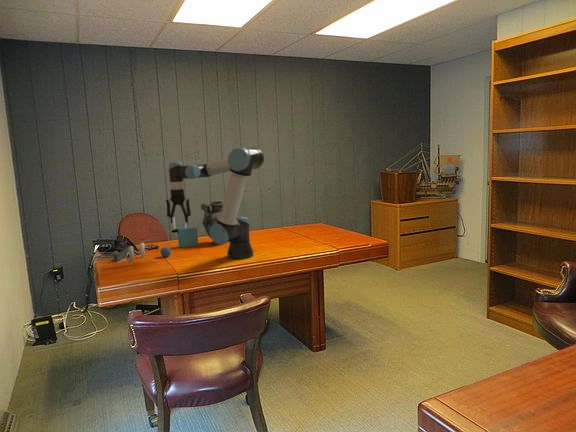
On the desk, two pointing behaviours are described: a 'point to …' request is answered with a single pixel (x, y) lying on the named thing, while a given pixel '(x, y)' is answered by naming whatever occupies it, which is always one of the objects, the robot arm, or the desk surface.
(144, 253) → the ivory pin
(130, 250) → the sage pin
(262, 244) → the desk surface
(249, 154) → the robot arm
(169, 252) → the ball
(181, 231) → the data package
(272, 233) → the desk surface
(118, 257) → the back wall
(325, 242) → the desk surface
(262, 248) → the desk surface
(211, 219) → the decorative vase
